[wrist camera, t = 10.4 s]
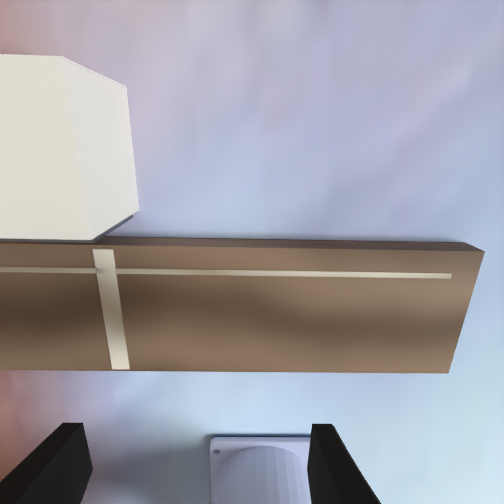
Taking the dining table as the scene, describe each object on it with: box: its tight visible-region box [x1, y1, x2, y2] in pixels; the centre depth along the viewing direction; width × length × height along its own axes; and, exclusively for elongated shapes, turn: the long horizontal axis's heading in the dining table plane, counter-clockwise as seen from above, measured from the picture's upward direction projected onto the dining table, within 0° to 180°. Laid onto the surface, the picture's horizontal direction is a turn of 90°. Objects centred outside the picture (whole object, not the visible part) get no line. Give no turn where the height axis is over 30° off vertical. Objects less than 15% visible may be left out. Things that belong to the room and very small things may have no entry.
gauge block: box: [0, 54, 139, 243], centre depth 13 cm, size 6×5×6 cm
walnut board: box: [0, 236, 485, 373], centre depth 18 cm, size 8×30×2 cm, turn 89°
